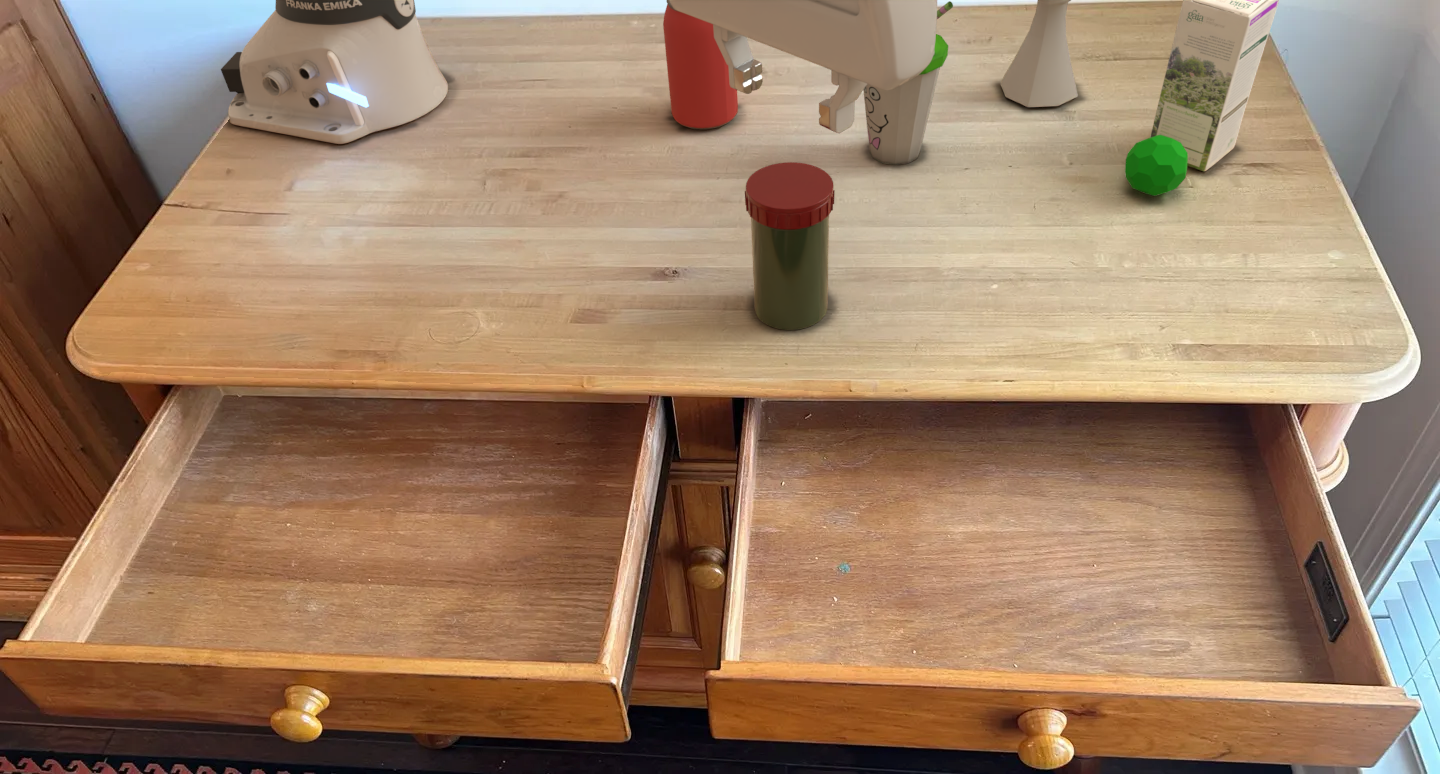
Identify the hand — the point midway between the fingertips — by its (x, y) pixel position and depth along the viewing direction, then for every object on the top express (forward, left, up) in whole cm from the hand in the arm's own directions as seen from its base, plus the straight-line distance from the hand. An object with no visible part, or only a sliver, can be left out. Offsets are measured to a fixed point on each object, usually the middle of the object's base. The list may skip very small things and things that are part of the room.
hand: (789, 107), depth 70 cm
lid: (0, 0, -6) cm, 6 cm away
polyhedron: (+28, +20, -17) cm, 38 cm away
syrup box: (+32, +27, -17) cm, 45 cm away
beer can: (-13, +29, -17) cm, 36 cm away
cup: (+6, +24, -17) cm, 30 cm away
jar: (0, 0, -17) cm, 17 cm away
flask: (+19, +37, -17) cm, 45 cm away
